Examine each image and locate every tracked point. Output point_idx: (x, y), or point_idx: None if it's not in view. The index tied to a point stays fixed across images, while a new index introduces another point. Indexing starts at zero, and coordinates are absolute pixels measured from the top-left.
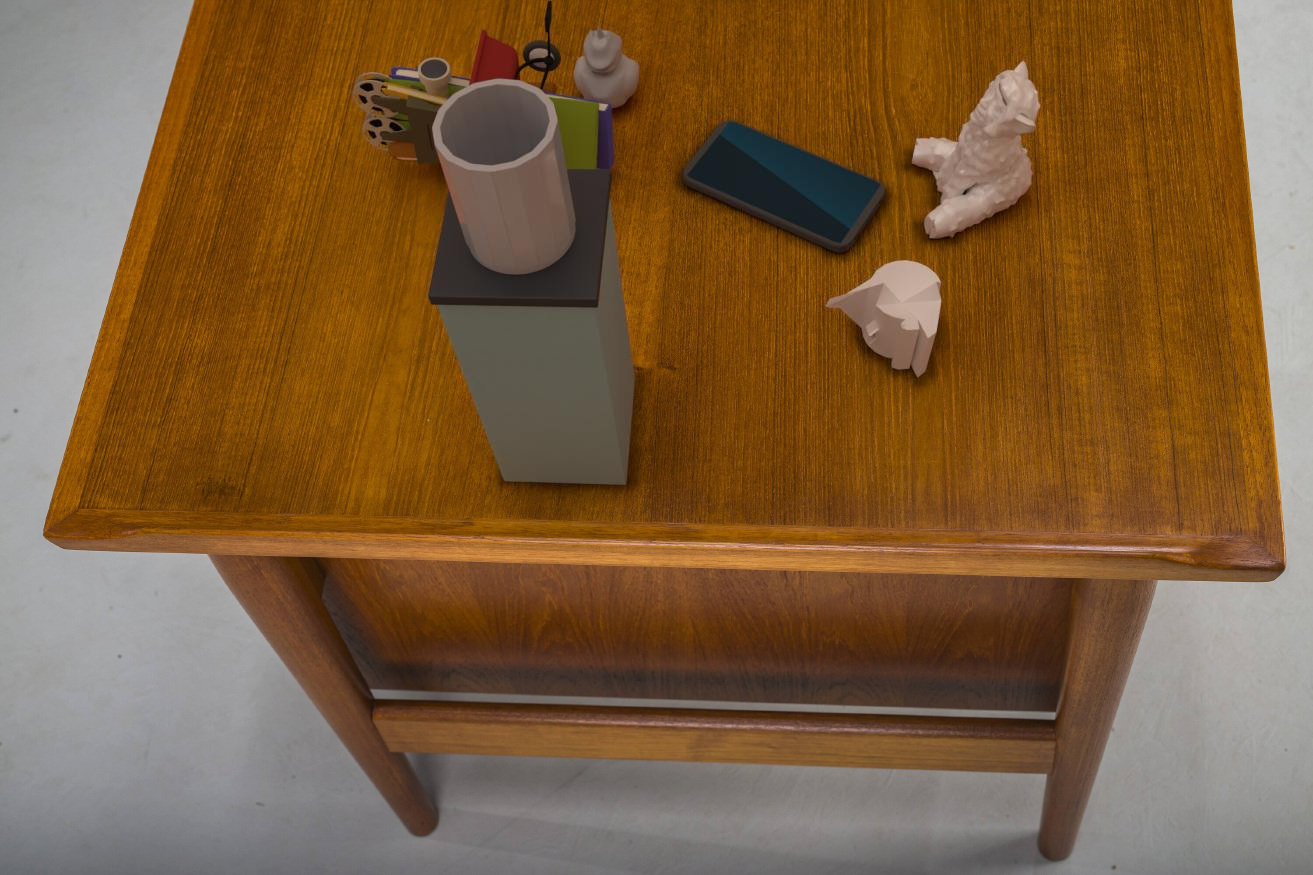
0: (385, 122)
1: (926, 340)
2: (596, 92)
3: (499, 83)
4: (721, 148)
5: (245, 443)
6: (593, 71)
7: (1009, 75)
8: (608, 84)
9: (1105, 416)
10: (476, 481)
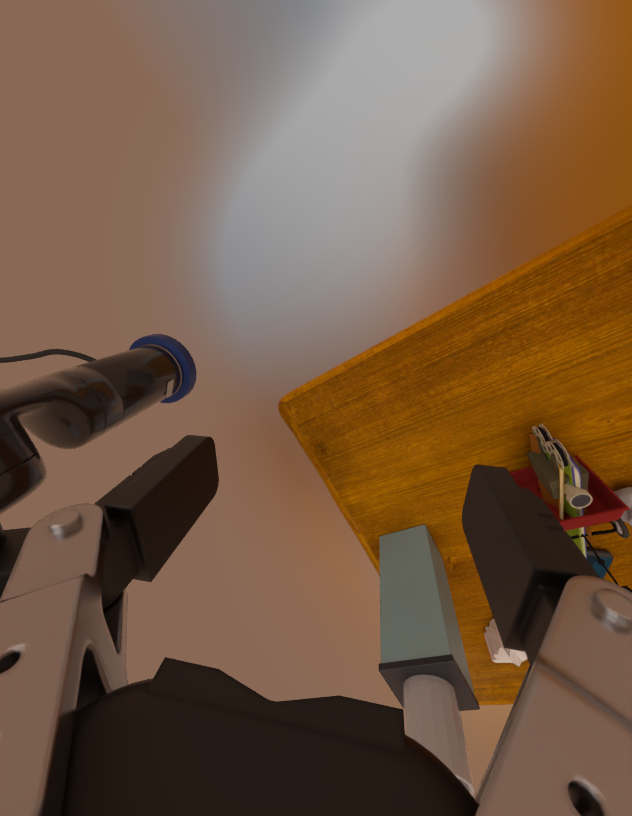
0: (545, 446)
1: (491, 658)
2: None
3: (469, 786)
4: (589, 559)
5: (345, 445)
6: (629, 512)
7: None
8: (621, 518)
9: (489, 675)
10: (374, 528)
